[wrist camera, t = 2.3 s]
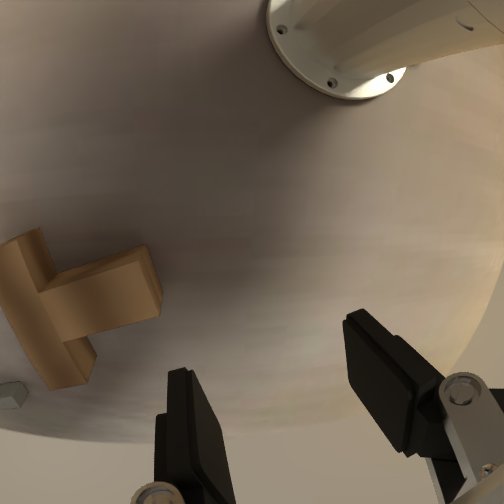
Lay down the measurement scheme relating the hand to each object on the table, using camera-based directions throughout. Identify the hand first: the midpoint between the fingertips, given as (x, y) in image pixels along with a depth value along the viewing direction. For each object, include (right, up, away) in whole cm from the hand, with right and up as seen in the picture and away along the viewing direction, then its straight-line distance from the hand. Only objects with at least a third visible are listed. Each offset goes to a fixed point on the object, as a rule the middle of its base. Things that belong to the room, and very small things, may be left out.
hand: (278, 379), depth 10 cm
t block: (-14, +1, +13) cm, 19 cm away
